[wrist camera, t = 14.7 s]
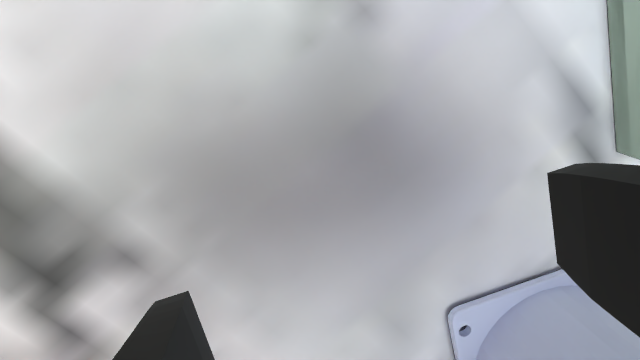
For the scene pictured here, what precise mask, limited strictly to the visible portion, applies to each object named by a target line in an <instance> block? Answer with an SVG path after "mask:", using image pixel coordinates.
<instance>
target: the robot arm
mask: <svg viewBox="0 0 640 360" xmlns="http://www.w3.org/2000/svg"><path fill="white" fill-rule="evenodd" d="M547 175H548V184H549V193H550V202H551V211H552V220H553V229H554V238H555V247H556V256H557V264H558V265H559V266H560V267H561V268H562V269H561V270H558V271H555V272H553V273H550V274H547V275H544V276H541V277H538V278H535V279H533V280H530V281H527V282H524V283H521V284H518V285H516V286H513V287H510V288H507V289H504V290H501V291H499V292H496V293H493V294H490V295H487V296H484V297H482V298H479V299H476V300H473V301H470V302H467V303H464V304H462V305H459V306H456V307H455V308H453V309H452V310H451V311H450V313H449V315H448V323H449V328H450V334H451V339H452V344H453V349H454V354H455V359H456V360H640V166H638V165H624V164H605V163H583V164H574V165H571V166H568V167H565V168H562V169H558V170H555V171H552V172H549V173H547ZM465 325H467V326H466V328H465V329H464V330H463V331H459V330H460V328H461V327H463V326H465ZM113 360H215V359H214V357H213V354H212V351H211V349H210V346H209V344H208V341H207V338H206V336H205V333H204V330H203V328H202V325H201V323H200V320H199V317H198V315H197V312H196V310H195V307H194V304H193V302H192V299H191V296H190V294H189V291H186V292H183V293H180V294H177V295H174V296H171V297H168V298H165V299H162V300H159V301H156V302H155V303H154V304H153V305H152V306H151V307H150V309H149V310H148V311H147V313H146V314H145V315H144V317H143V318H142V319H141V321H140V322H139V324H138V325H137V326H136V328H135V329H134V331H133V332H132V333H131V335H130V336H129V338H128V339H127V340H126V342H125V343H124V345H123V346H122V347H121V349H120V350H119V351H118V353H117V354H116V355H115V357H114V358H113Z"/></svg>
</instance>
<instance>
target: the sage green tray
mask: <svg viewBox="0 0 640 360" xmlns="http://www.w3.org/2000/svg"><path fill="white" fill-rule="evenodd" d="M607 7H608V23H609V39H610V55H611V70H612V86H613V102H614V118H615V133H616V149H617V152H619V153H622V154H625V155H628V156H631V157H633V158H636V159H639V160H640V0H607Z"/></svg>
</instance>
